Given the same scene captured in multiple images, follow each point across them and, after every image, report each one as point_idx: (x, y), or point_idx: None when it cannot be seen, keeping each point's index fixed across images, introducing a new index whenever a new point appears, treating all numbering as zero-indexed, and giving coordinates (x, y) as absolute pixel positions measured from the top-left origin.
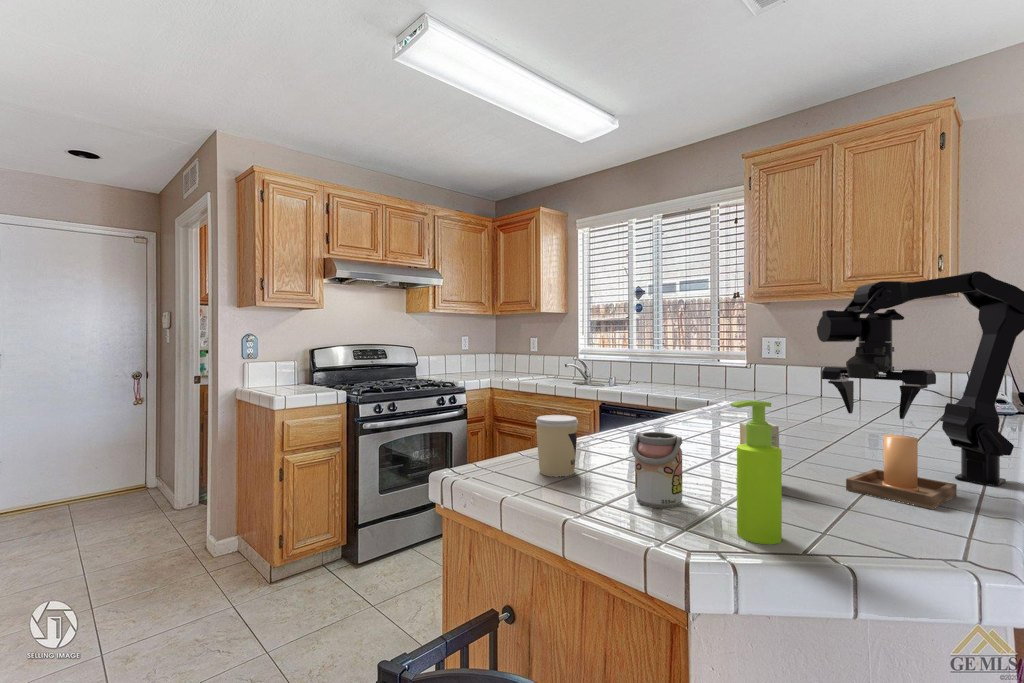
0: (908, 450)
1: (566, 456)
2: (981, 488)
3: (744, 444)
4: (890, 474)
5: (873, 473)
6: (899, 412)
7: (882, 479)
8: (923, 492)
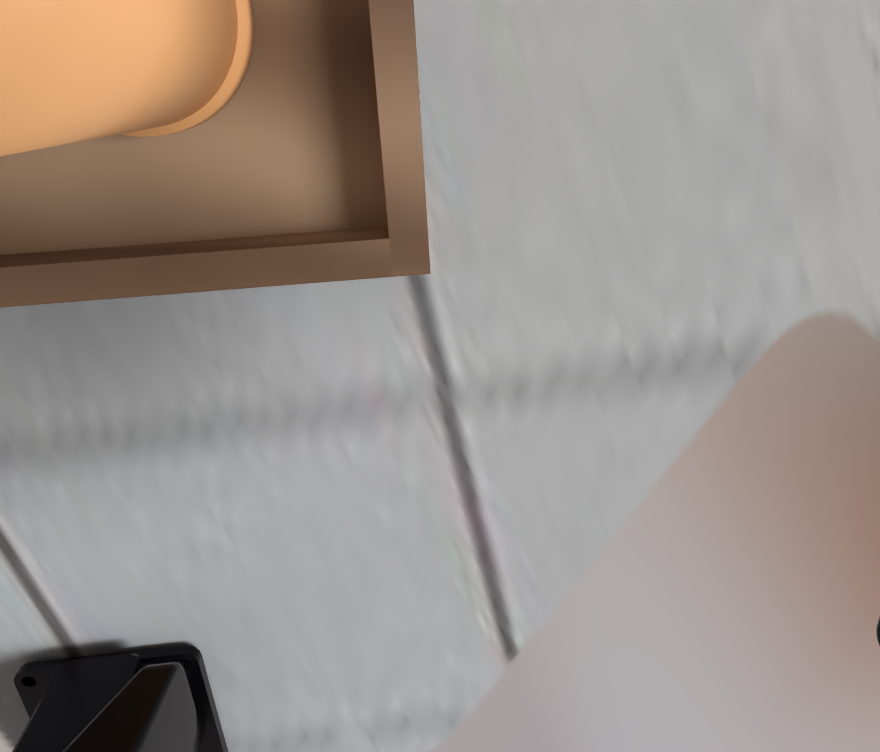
0: None
1: None
2: (35, 580)
3: None
4: None
5: (381, 149)
6: (137, 745)
7: (358, 227)
8: None
